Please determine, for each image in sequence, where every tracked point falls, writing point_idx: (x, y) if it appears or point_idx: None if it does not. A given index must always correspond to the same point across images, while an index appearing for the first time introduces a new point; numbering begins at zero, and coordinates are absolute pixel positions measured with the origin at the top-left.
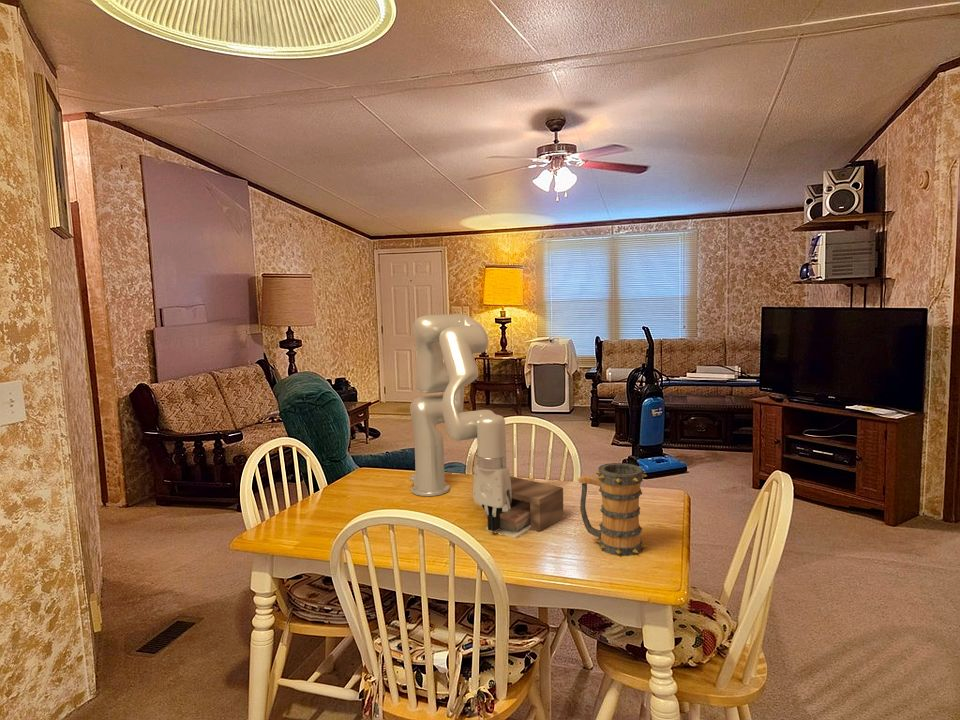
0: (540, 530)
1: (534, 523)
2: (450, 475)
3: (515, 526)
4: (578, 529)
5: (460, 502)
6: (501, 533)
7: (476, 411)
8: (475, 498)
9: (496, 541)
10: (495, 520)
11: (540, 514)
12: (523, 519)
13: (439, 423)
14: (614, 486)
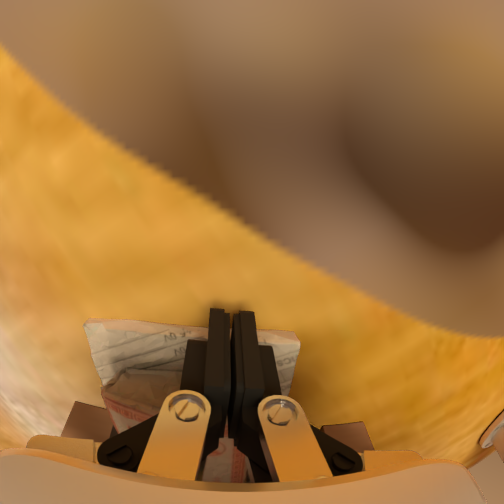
0: (75, 406)
1: (90, 430)
2: (473, 463)
3: (107, 385)
4: (29, 428)
5: (456, 427)
6: (178, 330)
7: None
8: (454, 492)
9: (147, 234)
10: (191, 375)
11: None
12: None
13: None
14: None
